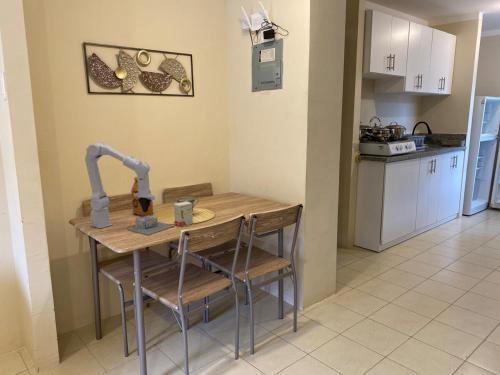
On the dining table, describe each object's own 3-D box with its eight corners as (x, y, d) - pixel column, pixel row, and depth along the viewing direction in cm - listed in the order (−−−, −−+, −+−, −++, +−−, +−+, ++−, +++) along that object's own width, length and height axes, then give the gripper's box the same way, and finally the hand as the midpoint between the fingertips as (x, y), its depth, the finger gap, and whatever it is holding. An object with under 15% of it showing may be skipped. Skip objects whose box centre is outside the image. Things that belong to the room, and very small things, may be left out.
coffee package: (140, 217, 214) (137, 180, 210) (130, 213, 223) (128, 177, 219) (155, 214, 220) (153, 178, 216) (146, 210, 229) (143, 175, 225)
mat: (127, 230, 190) (127, 229, 190) (154, 222, 204) (154, 221, 204) (148, 235, 181) (148, 234, 181) (175, 226, 195) (175, 225, 195)
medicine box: (147, 215, 200) (157, 217, 195) (148, 223, 201) (158, 225, 196) (135, 218, 194) (145, 220, 189) (135, 226, 195) (145, 229, 190)
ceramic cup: (181, 218, 210) (180, 201, 209) (175, 214, 219) (174, 198, 217) (202, 215, 217) (201, 198, 215) (195, 211, 225) (195, 195, 223)
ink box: (179, 227, 194) (178, 205, 191) (174, 225, 197) (173, 203, 195) (193, 223, 199) (192, 202, 197) (187, 222, 203) (186, 201, 201)
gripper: (159, 186, 191) (160, 211, 194) (140, 183, 199) (142, 208, 202) (148, 188, 186) (150, 214, 188) (129, 186, 194) (131, 211, 196)
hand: (145, 211), depth 195 cm, fingers closed
